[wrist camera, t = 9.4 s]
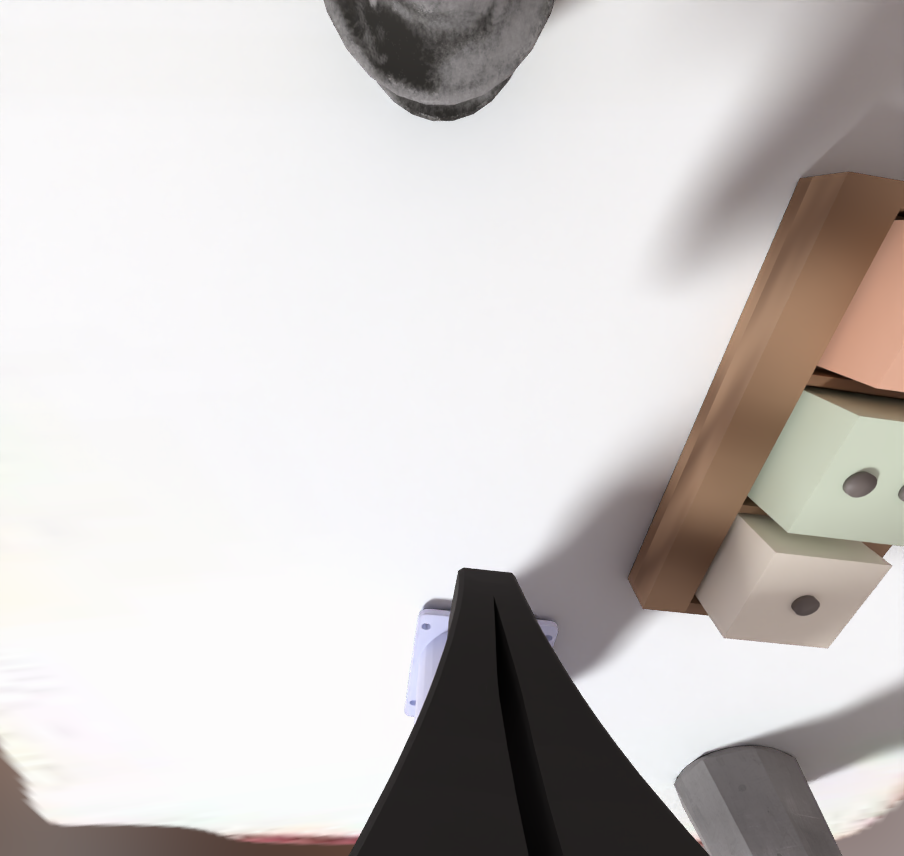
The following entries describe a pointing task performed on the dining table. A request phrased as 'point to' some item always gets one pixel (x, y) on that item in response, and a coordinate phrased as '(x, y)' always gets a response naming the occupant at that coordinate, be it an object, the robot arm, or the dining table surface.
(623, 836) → the robot arm
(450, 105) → the salt shaker
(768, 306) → the board
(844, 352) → the peach block
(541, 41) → the dining table surface
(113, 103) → the dining table surface
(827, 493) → the pale green knobbed block
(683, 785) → the coffeepot
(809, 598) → the beige block
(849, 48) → the dining table surface
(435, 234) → the dining table surface
